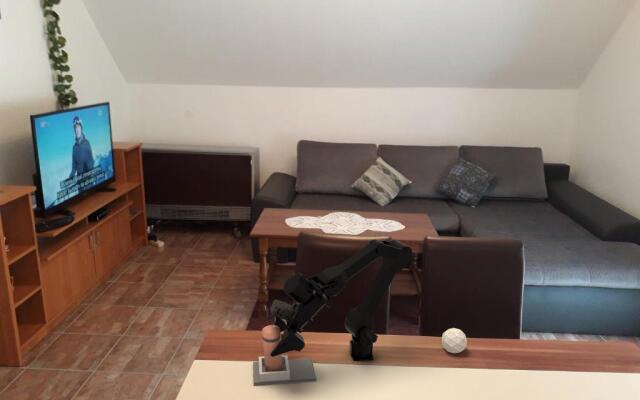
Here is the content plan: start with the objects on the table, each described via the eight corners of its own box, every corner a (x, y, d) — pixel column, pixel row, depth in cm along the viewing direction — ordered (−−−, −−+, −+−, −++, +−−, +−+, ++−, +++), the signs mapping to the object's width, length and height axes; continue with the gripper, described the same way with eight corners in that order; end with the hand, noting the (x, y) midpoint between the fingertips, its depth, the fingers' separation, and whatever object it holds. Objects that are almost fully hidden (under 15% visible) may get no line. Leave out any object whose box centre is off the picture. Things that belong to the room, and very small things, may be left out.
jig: (311, 361, 156) (312, 351, 155) (316, 381, 146) (316, 370, 145) (253, 364, 153) (252, 354, 152) (253, 385, 144) (253, 375, 143)
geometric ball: (454, 355, 165) (466, 333, 166) (461, 360, 157) (474, 338, 158) (434, 342, 166) (446, 321, 166) (441, 347, 158) (454, 325, 158)
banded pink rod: (282, 364, 151) (279, 323, 147) (283, 375, 146) (280, 333, 142) (264, 366, 151) (261, 325, 146) (265, 377, 146) (262, 335, 141)
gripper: (282, 278, 151) (245, 315, 152) (293, 308, 134) (252, 349, 134) (307, 299, 155) (271, 335, 156) (321, 331, 138) (281, 371, 138)
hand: (269, 346), depth 146 cm, fingers open, 9 cm apart
